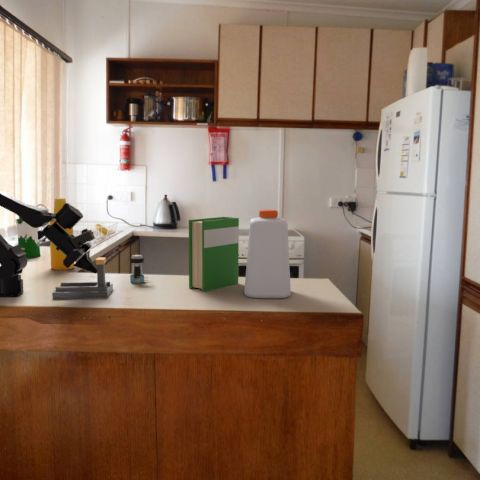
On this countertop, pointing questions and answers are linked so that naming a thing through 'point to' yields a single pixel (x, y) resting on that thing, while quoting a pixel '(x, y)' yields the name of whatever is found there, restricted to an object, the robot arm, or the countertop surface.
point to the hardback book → (213, 252)
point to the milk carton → (28, 239)
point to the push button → (137, 269)
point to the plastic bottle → (268, 257)
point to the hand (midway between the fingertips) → (97, 272)
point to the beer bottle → (56, 255)
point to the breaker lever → (101, 271)
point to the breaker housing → (81, 290)
